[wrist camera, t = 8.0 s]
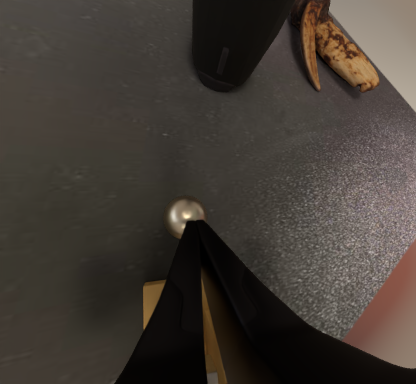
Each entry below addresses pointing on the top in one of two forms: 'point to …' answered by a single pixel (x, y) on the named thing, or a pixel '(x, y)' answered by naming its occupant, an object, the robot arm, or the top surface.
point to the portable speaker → (233, 38)
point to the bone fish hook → (330, 46)
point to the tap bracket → (210, 342)
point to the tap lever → (175, 223)
